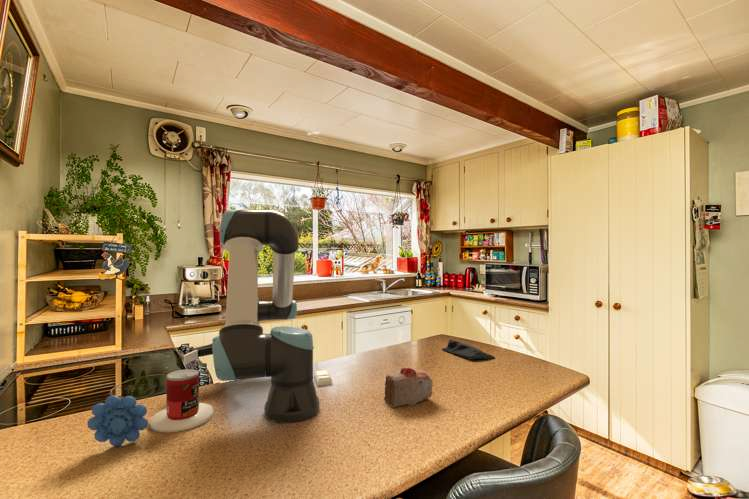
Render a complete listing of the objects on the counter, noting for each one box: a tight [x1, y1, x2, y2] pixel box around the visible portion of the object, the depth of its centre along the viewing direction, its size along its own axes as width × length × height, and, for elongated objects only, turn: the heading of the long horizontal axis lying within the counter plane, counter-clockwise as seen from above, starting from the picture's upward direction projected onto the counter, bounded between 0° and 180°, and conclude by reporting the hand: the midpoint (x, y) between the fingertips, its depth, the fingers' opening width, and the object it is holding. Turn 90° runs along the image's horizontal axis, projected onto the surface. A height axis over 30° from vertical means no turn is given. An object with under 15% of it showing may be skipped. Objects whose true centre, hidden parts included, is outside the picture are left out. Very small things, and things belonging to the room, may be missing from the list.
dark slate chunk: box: [441, 339, 496, 361], centre depth 159 cm, size 15×22×5 cm
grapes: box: [87, 394, 149, 447], centre depth 83 cm, size 12×7×12 cm, turn 122°
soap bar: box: [313, 369, 333, 387], centre depth 126 cm, size 5×9×3 cm, turn 17°
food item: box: [383, 367, 434, 408], centre depth 109 cm, size 14×8×10 cm, turn 118°
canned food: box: [165, 368, 200, 420], centre depth 98 cm, size 8×8×11 cm
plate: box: [149, 402, 214, 434], centre depth 97 cm, size 15×15×1 cm
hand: (205, 360), depth 110 cm, fingers open, 13 cm apart
